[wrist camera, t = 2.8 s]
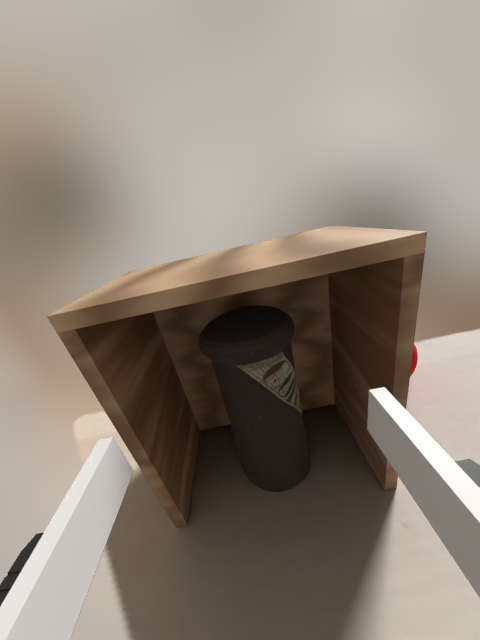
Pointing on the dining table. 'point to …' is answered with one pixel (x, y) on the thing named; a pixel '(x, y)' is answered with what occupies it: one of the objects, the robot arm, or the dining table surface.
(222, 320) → the container
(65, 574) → the robot arm
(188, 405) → the cubby
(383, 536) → the dining table surface
